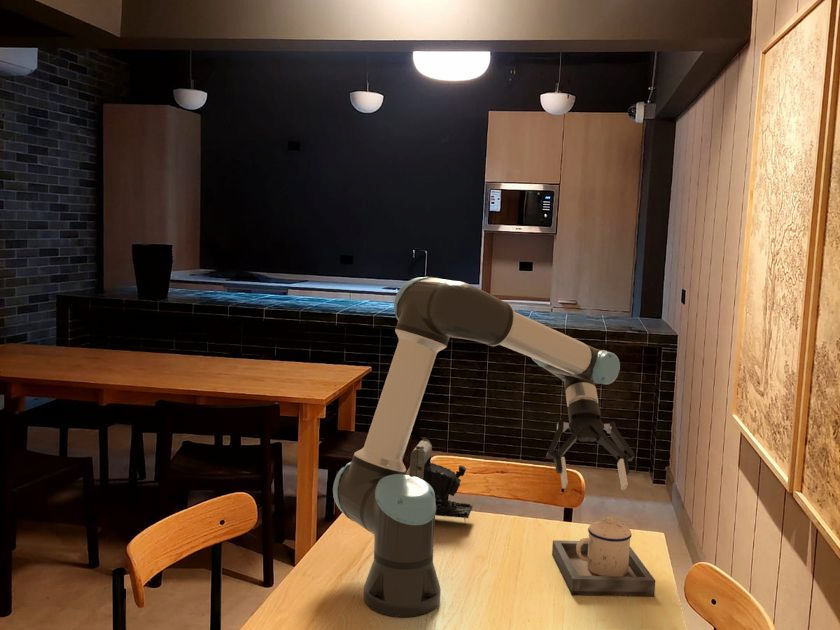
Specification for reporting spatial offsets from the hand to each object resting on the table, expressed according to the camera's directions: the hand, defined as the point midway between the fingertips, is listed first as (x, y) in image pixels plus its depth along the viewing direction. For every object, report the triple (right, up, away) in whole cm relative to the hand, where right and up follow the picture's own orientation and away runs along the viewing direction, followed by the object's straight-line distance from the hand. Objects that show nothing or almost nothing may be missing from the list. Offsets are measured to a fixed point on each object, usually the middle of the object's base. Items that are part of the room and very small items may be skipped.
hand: (594, 486), depth 171 cm
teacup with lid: (0, -17, -7) cm, 18 cm away
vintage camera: (-35, -13, +19) cm, 42 cm away
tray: (-1, -17, -7) cm, 19 cm away
